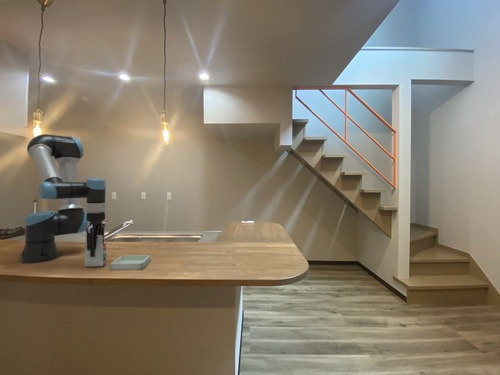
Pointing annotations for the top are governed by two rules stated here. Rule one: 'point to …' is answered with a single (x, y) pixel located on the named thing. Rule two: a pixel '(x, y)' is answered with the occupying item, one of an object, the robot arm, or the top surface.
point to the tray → (130, 262)
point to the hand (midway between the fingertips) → (95, 261)
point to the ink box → (100, 253)
